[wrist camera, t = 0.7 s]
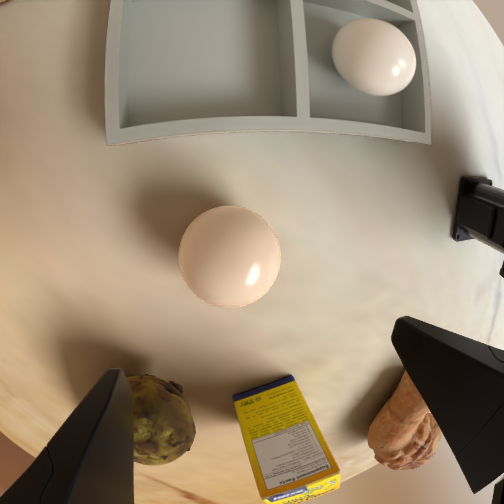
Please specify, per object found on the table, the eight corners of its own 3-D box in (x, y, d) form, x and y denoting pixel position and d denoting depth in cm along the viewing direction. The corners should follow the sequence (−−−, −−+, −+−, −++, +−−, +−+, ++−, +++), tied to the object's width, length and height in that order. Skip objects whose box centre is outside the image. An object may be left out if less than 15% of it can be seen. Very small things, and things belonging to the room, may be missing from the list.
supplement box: (248, 423, 26) (275, 511, 16) (231, 394, 23) (259, 501, 13) (301, 405, 26) (341, 488, 16) (293, 373, 24) (341, 472, 14)
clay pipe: (330, 429, 37) (396, 435, 38) (336, 482, 27) (409, 479, 28) (398, 344, 31) (462, 361, 32) (428, 401, 21) (492, 405, 22)
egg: (378, 40, 14) (427, 25, 9) (383, 104, 15) (436, 101, 11) (314, 24, 13) (356, -5, 8) (319, 94, 15) (366, 82, 10)
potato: (66, 394, 19) (50, 462, 12) (143, 326, 18) (133, 418, 11) (133, 432, 23) (132, 496, 16) (219, 380, 22) (238, 460, 15)
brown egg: (264, 193, 17) (297, 216, 12) (265, 273, 19) (293, 319, 14) (174, 201, 16) (169, 229, 11) (185, 283, 18) (187, 335, 13)
